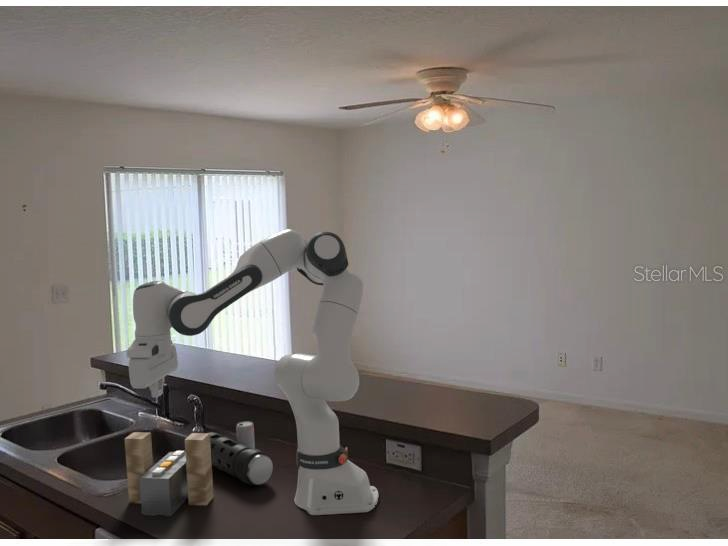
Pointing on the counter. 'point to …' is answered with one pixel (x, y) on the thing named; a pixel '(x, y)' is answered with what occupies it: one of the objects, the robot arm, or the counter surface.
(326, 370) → the robot arm
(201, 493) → the oak post
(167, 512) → the button box
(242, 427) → the energy drink
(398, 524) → the counter surface
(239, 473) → the muzzle brake
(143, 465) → the oak post
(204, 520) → the counter surface
